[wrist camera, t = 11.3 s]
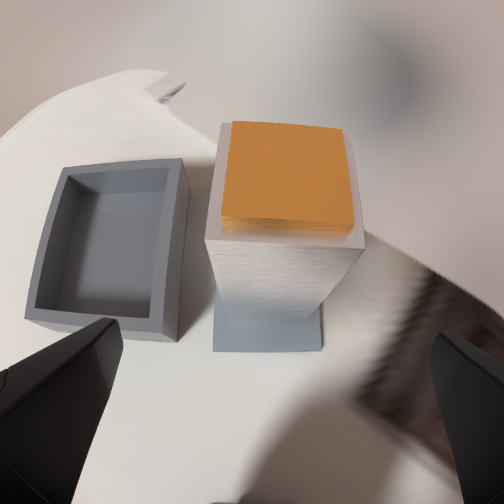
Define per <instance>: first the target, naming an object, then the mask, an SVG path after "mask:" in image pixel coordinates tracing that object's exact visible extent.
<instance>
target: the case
mask: <svg viewBox="0 0 504 504" xmlns="http://www.w3.org/2000/svg"><path fill="white" fill-rule="evenodd" d="M189 196H190V187H189V183H188V180H187V176H186V172H185V168H184V164H183V160H182V158H177V159H156V160H139V161H125V162H113V163H102V164H92V165H82V166H73V167H65V168H63V169H62V172H61V175H60V178H59V180H58V183H57V186H56V189H55V192H54V195H53V198H52V201H51V204H50V207H49V211H48V214H47V217H46V221H45V224H44V228H43V231H42V235H41V239H40V242H39V246H38V250H37V255H36V259H35V263H34V268H33V272H32V277H31V282H30V287H29V293H28V298H27V304H26V311H25V317H24V319H26V320H29V321H31V322H34V323H36V324H39V325H41V326H44V327H46V328H49V329H51V330H54V331H61V332H68V333H74V332H76V331H78V330H80V329H82V328H84V327H86V326H88V325H90V324H91V323H93V322H95V321H97V320H99V319H101V318H103V317H107V318H114V319H116V320H118V322H119V326H120V331H121V335H122V339H132V340H144V341H158V342H174V343H177V332H178V315H179V300H180V286H181V274H182V262H183V251H184V241H185V231H186V222H187V213H188V204H189Z"/></svg>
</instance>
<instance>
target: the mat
mask: <svg viewBox="0 0 504 504" xmlns="http://www.w3.org/2000/svg"><path fill="white" fill-rule="evenodd" d="M213 351H214V352H308V351H321V327H320V307H319V306H318V307H317V308H316V309H315V311H314V312H313V313H312V314H311V315H310V316H309V318H308V319H307V320H306V321H305V322H304V323H296V322H271V321H252V320H235V319H227V315H226V312H225V309H224V306H223V302H222V299H221V296H220V292H219V289H218V286H217V282H216V279H215V303H214V333H213Z"/></svg>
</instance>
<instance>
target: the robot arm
mask: <svg viewBox="0 0 504 504" xmlns="http://www.w3.org/2000/svg"><path fill="white" fill-rule="evenodd" d="M122 351H123V340H122V335H121V331H120V326H119V322H118V320H116V319H114V318H107V317H103V318H101V319H99V320H97V321H95V322H93V323H91V324H90V325H88V326H86V327H84V328H82V329H80V330H78V331H76V332H74V333H72V334H71V335H69V336H67V337H65V338H63V339H61V340H59V341H57V342H55V343H53V344H52V345H50V346H48V347H46V348H44V349H42V350H40V351H38V352H36V353H35V354H33V355H31V356H29V357H27V358H25V359H23V360H21V361H20V362H18V363H16V364H14V365H12V366H10V367H9V368H8V369H4V370H3V371H1V372H0V504H71V502H72V499H73V496H74V493H75V490H76V487H77V484H78V481H79V478H80V475H81V472H82V469H83V466H84V463H85V460H86V457H87V455H88V452H89V449H90V446H91V443H92V441H93V438H94V435H95V433H96V430H97V427H98V425H99V422H100V420H101V417H102V414H103V412H104V409H105V407H106V404H107V402H108V399H109V396H110V393H111V390H112V387H113V383H114V379H115V376H116V372H117V369H118V365H119V362H120V358H121V355H122ZM427 362H428V366H429V370H430V374H431V379H432V383H433V387H434V392H435V396H436V400H437V404H438V407H439V411H440V414H441V417H442V420H443V423H444V427H445V430H446V433H447V437H448V440H449V444H450V447H451V451H452V455H453V458H454V462H455V466H456V470H457V474H458V478H459V482H460V487H461V491H462V496H463V501H464V504H504V363H503V362H501V361H499V360H498V359H496V358H494V357H493V356H491V355H489V354H488V353H486V352H484V351H483V350H481V349H479V348H477V347H476V346H474V345H472V344H471V343H469V342H467V341H465V340H464V339H462V338H460V337H458V336H457V335H455V334H453V333H451V332H448V331H447V332H439V333H437V334H436V336H435V338H434V340H433V343H432V345H431V348H430V350H429V352H428V356H427Z"/></svg>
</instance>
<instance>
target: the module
mask: <svg viewBox="0 0 504 504" xmlns="http://www.w3.org/2000/svg"><path fill="white" fill-rule="evenodd" d="M204 240H205V244H206V248H207V251H208V255H209V258H210V262H211V265H212V268H213V272H214V275H215V279H216V282H217V286H218V289H219V292H220V296H221V299H222V302H223V306H224V309H225V312H226V315H227V319H235V320H252V321H271V322H296V323H304V322H305V321H306V320H307V319H308V318H309V316H310V315H311V314H312V313H313V312H314V311H315V309H316V308H317V307H318V306H319V305H320V304H321V303H322V301H323V300H324V299H325V298H326V297H327V295H328V294H329V293H330V292H331V291H332V290H333V288H334V287H335V286H336V285H337V284H338V282H339V281H340V280H341V279H342V277H343V276H344V275H345V274H346V273H347V271H348V270H349V269H350V268H351V266H352V265H353V264H354V263H355V261H356V260H357V259H358V258H359V256H360V255H361V254H362V253H363V251H364V250H365V249H366V247H365V237H364V228H363V219H362V211H361V203H360V195H359V188H358V182H357V175H356V169H355V162H354V157H353V150H352V145H351V139H350V134H349V133H348V132H342V129H334V128H325V127H315V126H305V125H295V124H282V123H266V122H265V123H264V122H245V121H233V123H222V124H221V130H220V136H219V142H218V148H217V154H216V160H215V167H214V173H213V180H212V187H211V193H210V200H209V208H208V215H207V222H206V230H205V237H204Z"/></svg>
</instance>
